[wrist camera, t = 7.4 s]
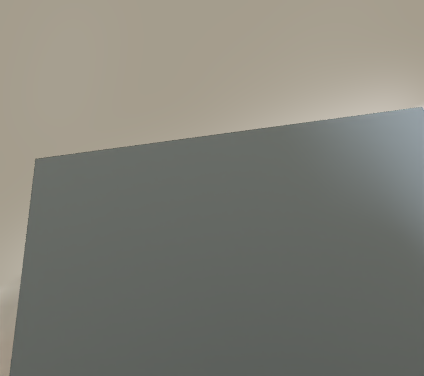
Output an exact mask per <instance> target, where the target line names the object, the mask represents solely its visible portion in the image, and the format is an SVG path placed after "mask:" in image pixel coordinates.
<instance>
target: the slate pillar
mask: <svg viewBox="0 0 424 376" xmlns="http://www.w3.org/2000/svg"><path fill="white" fill-rule="evenodd" d="M10 376H424V110H423V108H422V107H418V108H410V109H403V110H395V111H388V112H380V113H373V114H366V115H358V116H351V117H343V118H336V119H328V120H321V121H314V122H306V123H299V124H292V125H284V126H276V127H269V128H262V129H254V130H248V131H240V132H233V133H224V134H217V135H210V136H202V137H195V138H187V139H180V140H172V141H165V142H158V143H150V144H143V145H135V146H129V147H120V148H113V149H105V150H98V151H92V152H83V153H76V154H69V155H61V156H53V157H47V158H39V159H36V160H35V168H34V176H33V184H32V193H31V201H30V209H29V218H28V226H27V234H26V243H25V251H24V259H23V268H22V276H21V284H20V293H19V301H18V309H17V317H16V326H15V334H14V342H13V351H12V359H11V367H10Z"/></svg>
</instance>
